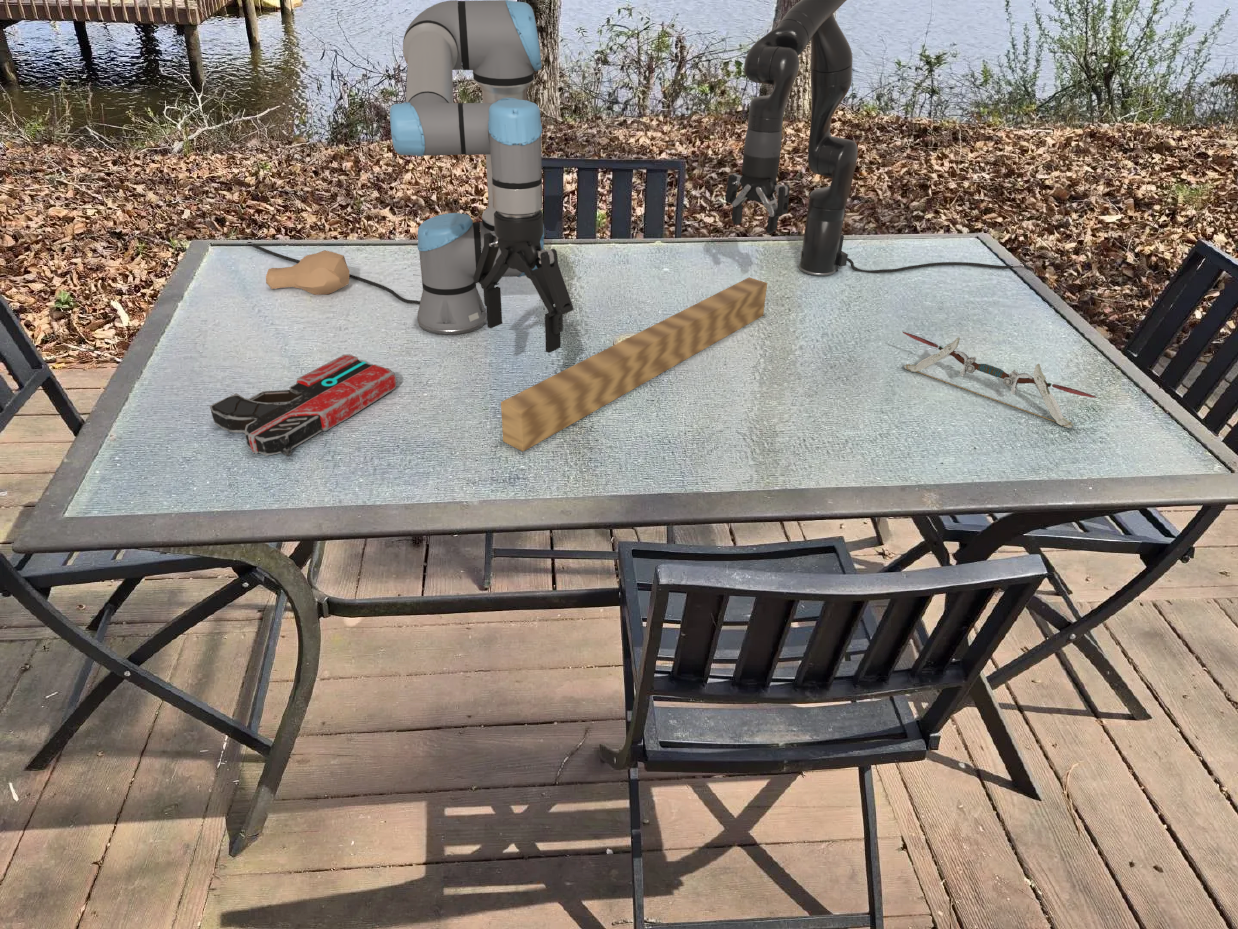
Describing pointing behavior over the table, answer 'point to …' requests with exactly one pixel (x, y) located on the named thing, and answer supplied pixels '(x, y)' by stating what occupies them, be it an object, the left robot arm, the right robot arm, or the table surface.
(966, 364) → the bow
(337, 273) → the squash
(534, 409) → the beam
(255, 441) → the gun
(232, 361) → the table surface
